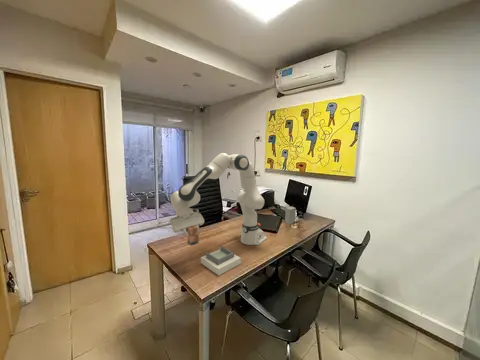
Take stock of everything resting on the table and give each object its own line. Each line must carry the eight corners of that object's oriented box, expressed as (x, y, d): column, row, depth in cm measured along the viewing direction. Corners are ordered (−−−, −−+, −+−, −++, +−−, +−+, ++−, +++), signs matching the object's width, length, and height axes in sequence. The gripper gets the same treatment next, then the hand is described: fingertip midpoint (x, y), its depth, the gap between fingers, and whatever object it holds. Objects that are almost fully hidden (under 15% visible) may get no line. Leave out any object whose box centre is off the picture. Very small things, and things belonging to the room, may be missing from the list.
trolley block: (194, 241, 126) (194, 225, 124) (198, 243, 123) (198, 227, 121) (187, 243, 122) (187, 227, 121) (191, 245, 119) (190, 229, 118)
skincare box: (290, 221, 209) (291, 206, 207) (295, 223, 203) (296, 207, 200) (284, 222, 205) (285, 207, 203) (289, 224, 199) (289, 209, 196)
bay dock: (222, 253, 142) (222, 243, 141) (240, 263, 130) (240, 253, 129) (200, 263, 130) (200, 252, 129) (218, 275, 117) (218, 264, 116)
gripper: (170, 215, 117) (179, 237, 112) (200, 208, 132) (209, 227, 126) (167, 221, 121) (175, 242, 116) (196, 213, 135) (205, 232, 130)
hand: (193, 234), depth 121 cm, fingers closed on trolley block, 5 cm apart
